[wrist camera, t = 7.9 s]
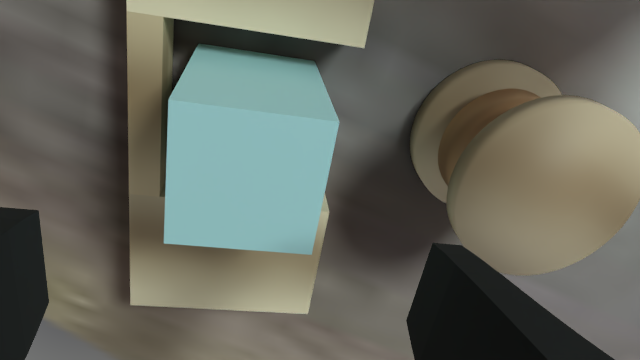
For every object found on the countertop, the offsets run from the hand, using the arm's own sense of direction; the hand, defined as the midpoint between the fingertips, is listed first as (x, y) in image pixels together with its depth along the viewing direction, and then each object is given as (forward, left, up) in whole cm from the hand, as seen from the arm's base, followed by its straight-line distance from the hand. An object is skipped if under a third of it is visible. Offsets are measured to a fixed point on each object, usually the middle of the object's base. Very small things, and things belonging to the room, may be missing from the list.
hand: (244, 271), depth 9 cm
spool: (0, -9, -9) cm, 13 cm away
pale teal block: (0, 0, -10) cm, 10 cm away
